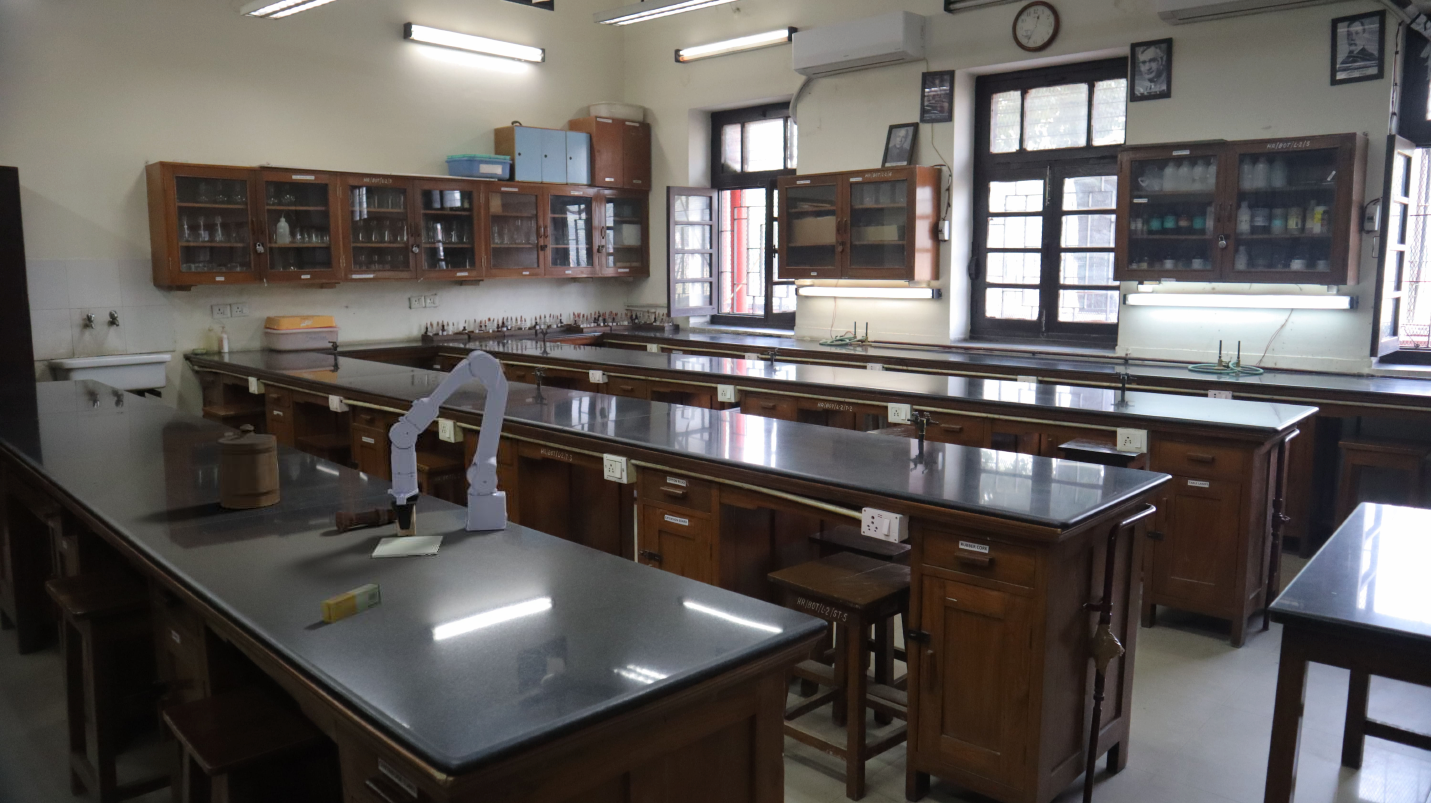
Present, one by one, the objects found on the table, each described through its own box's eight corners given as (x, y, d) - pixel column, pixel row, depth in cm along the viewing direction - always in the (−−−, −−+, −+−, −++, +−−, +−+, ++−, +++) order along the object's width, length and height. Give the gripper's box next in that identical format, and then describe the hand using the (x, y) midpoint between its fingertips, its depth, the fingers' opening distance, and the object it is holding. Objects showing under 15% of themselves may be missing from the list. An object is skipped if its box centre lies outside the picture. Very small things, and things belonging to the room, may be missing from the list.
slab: (416, 532, 238) (415, 504, 237) (414, 535, 236) (413, 507, 235) (399, 533, 237) (398, 505, 236) (397, 535, 235) (396, 507, 234)
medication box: (372, 602, 189) (370, 582, 188) (382, 603, 188) (380, 583, 187) (321, 621, 178) (320, 601, 178) (332, 624, 177) (330, 602, 177)
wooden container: (290, 497, 274) (286, 420, 271) (261, 510, 259) (256, 429, 256) (241, 496, 276) (236, 419, 273) (209, 508, 261) (203, 428, 258)
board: (442, 537, 233) (442, 535, 233) (436, 554, 219) (436, 552, 219) (382, 540, 231) (382, 538, 231) (372, 557, 217) (371, 555, 217)
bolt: (398, 528, 249) (340, 537, 239) (391, 516, 251) (333, 523, 242) (403, 511, 246) (344, 519, 236) (396, 499, 249) (337, 506, 239)
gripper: (391, 466, 241) (394, 519, 243) (382, 478, 227) (384, 535, 228) (421, 465, 242) (423, 518, 244) (413, 477, 228) (415, 533, 230)
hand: (406, 526), depth 236 cm, fingers open, 5 cm apart
